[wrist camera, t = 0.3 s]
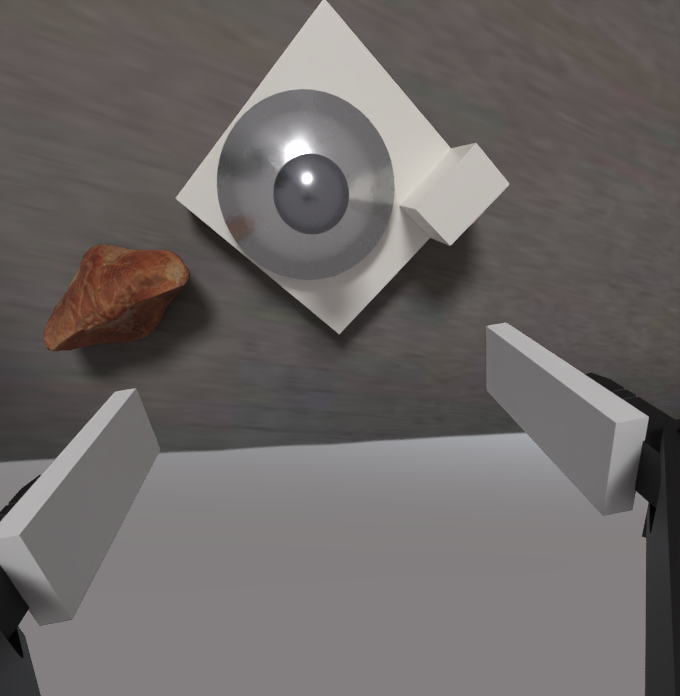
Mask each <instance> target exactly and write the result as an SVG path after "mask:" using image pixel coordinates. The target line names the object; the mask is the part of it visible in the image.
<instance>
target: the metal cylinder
mask: <svg viewBox="0 0 680 696" xmlns="http://www.w3.org/2000/svg"><path fill="white" fill-rule="evenodd" d="M273 198H274V203H275V207H276V209H277V212H278V214H279V215H280V217H281V218H282V220H283V221H284V222H285V223H286V224H287V225H288V226H289V227H291V228H292V229H294V230H296V231H298V232H300V233H304V234H320V233H324V232H326V231H328V230H330V229H332V228H333V227H334V226H336V225H337V224H338V223H339V222H340V220H341V219H342V218H343V216H344V214H345V212H346V210H347V206H348V202H349V188H348V183H347V180H346V178H345V176H344V174H343V172H342V171H341V169H340V168H339V167H338V166H337V164H335V163H334V162H333V161H332V160H330V159H329V158H327V157H325V156H322V155H319V154H311V153H308V154H302V155H298V156H296V157H294V158H292V159H290V160H289V161H288V162H287V163H285V165H284V166H283V167H282V168H281V169H280V171H279V173H278V175H277V177H276V179H275V183H274V189H273Z"/></svg>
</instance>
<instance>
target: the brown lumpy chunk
mask: <svg viewBox="0 0 680 696" xmlns="http://www.w3.org/2000/svg"><path fill="white" fill-rule="evenodd" d="M189 276H190V273H189V269H188V268H187V267H186V266H185V264H184V262H183V261H182V259H181V258H180V257H179V256H178V255H177V254H175V253H174V252H172V251H169V250H130V249H128V248H122V247H119V246H112V245H104V244H103V245H98V246H95V247H92V248H91V249H90V250H89V251H87V252H86V253H85V255H84V256H83V259H82V261H81V267H80V268H79V270H78V272H77V273H76V275H75V276H74V278H73V280H72V281H71V283H70V286H69V288H68V290H67V292H66V293H65V294H64V296H63V297H62V298H61V299H60V301H59V302H58V304H57V305H56V307H55V308H54V310H53V313H52V315H51V317H50V318H49V320H48V322H47V326H46V328H45V330H44V343H45V345H46V348H47V349H48V350H51V351H61V350H72V349H75V348H79V347H82V346H94V345H98V344H101V343H121V342H131V341H134V340H137V339H141V338H144V337H146V336H148V335H149V334H150V333H151V332H152V331H153V330H154V329H155V328H156V326H157V325H158V323H159V322H160V321H161V319H162V317H163V315H164V311H165V309H166V307H167V306H168V305H169V304H170V303H171V302H172V301H173V300H174V298H175V297H176V296H177V295H178V293H179V292H180V291H181V289H182V287H183V286H185V285H186V283H187V281H188V279H189Z"/></svg>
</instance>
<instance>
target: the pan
mask: <svg viewBox="0 0 680 696" xmlns="http://www.w3.org/2000/svg"><path fill="white" fill-rule="evenodd" d="M308 153H311V154H319V155H322V156H325V157H327V158H329V159H330V160H332V161H333V162H334V163H335V164H337V166H338V167H339V168H340V169H341V171H342V172H343V174H344V176H345V178H346V180H347V183H348V188H349V202H348V206H347V210H346V212H345V214H344V216H343V218H342V219H341V220H340V222H339V223H338V224H337V225H336V226H334V227H333V228H332V229H330V230H328V231H326V232H324V233H320V234H304V233H300V232H298V231H296V230H294V229H292V228H291V227H289V226H288V225H287V224H286V223H285V222H284V221H283V220H282V218H281V217H280V215H279V214H278V212H277V209H276V207H275V203H274V198H273V189H274V183H275V179H276V177H277V175H278V173H279V171H280V169H281V168H282V167H283V166H284V165H285V163H287V162H288V161H289V160H290V159H292V158H294V157H296V156H298V155H302V154H308ZM394 192H395V184H394V173H393V167H392V162H391V159H390V156H389V152H388V150H387V148H386V145H385V143H384V141H383V139H382V137H381V136H380V134H379V132H378V131H377V129H376V128H375V126H374V125H373V124H372V123H371V121H370V120H369V119H368V118H367V117H366V116H365V115H364V114H363V113H362V112H361V111H360V110H358V109H357V108H356V107H354V106H353V105H352V104H350V103H349V102H347V101H345V100H343V99H341V98H340V97H338V96H335V95H332V94H329V93H327V92H322V91H317V90H310V89H297V90H288V91H284V92H280V93H276V94H274V95H272V96H269V97H267V98H265V99H263V100H261V101H260V102H258V103H257V104H255V105H254V106H252V107H251V108H250V109H249V110H248V111H247V112H245V113H244V114H243V115H242V117H241V118H240V119H239V120H238V121H237V122H236V124H235V125H234V127H233V128H232V130H231V131H230V133H229V135H228V137H227V139H226V141H225V143H224V145H223V148H222V152H221V155H220V158H219V164H218V170H217V193H218V200H219V205H220V209H221V212H222V215H223V218H224V221H225V223H226V225H227V227H228V229H229V231H230V233H231V235H232V236H233V238H234V239H235V241H236V242H237V244H238V245H239V246H240V247H241V248H242V250H243V251H244V252H245V253H246V254H247V255H248V256H249V257H251V258H252V259H253V260H254V261H255V262H257V263H258V264H259V265H261V266H262V267H264V268H266V269H268V270H270V271H271V272H274V273H276V274H279V275H281V276H285V277H288V278H292V279H300V280H317V279H324V278H328V277H332V276H335V275H338V274H340V273H343V272H345V271H347V270H348V269H350V268H352V267H354V266H355V265H356V264H358V263H359V262H360V261H362V260H363V259H364V258H365V257H366V256H367V255H368V254H369V253H370V252H371V251H372V250H373V248H374V247H375V246H376V245H377V243H378V242H379V240H380V238H381V237H382V235H383V233H384V231H385V229H386V227H387V225H388V222H389V219H390V216H391V213H392V208H393V203H394Z"/></svg>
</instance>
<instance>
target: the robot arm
mask: <svg viewBox="0 0 680 696" xmlns="http://www.w3.org/2000/svg"><path fill="white" fill-rule="evenodd" d="M486 366H487V391H488V392H489V393H490V394H491V395H492V396H493V397H494V399H495V400H496V401H497V402H498V403H499V404H500V405H501V406H502V407H503V408H504V409H505V410H506V411H507V413H508V414H509V415H510V416H511V417H512V418H513V419H514V420H515V421H516V422H517V423H518V424H519V426H520V427H521V428H522V429H523V430H524V431H525V432H526V433H527V434H528V435H529V436H530V437H531V439H532V440H533V441H534V442H535V443H536V444H537V445H538V446H539V447H540V448H541V449H542V450H543V452H544V453H545V454H546V455H547V456H548V457H549V458H550V459H551V460H552V461H553V462H554V463H555V464H556V466H557V467H558V468H559V469H560V470H561V471H562V472H563V473H564V474H565V475H566V476H567V477H568V479H569V480H570V481H571V482H572V483H573V484H574V485H575V486H576V487H577V488H578V489H579V491H580V492H581V493H582V494H583V495H584V496H585V497H586V498H587V499H588V500H589V501H590V502H591V504H593V506H594V507H595V508H596V509H597V510H598V511H599V512H600V513H601V514H602V515H603V516H604V515H610V514H615V513H619V512H625V511H630V510H632V509H633V503H634V498H635V493H636V491H637V492H638V493H639V494H640V495H642V496H643V497H644V498H645V499H646V500H647V501H648V502H649V504H648V509H647V514H646V519H645V524H644V530H643V534H642V536H643V537H646V541H647V542H646V659H645V660H646V663H645V666H646V667H645V670H646V671H645V696H680V419H679V420H675V419H673V418H672V417H670V416H669V415H667V414H665V413H664V412H662V411H661V410H659V409H657V408H656V407H654V406H653V405H651V404H649V403H648V402H646V401H644V400H643V399H641V398H640V397H636V395H635V394H633V393H632V392H630V391H628V390H624V387H622V386H620V385H619V384H617V383H615V382H614V381H612V380H611V379H608V378H605V377H602V376H599V375H596V374H593V373H588V374H583V373H582V372H580V371H579V370H577V369H576V368H574V367H573V366H571V365H570V364H568V363H567V362H565V361H563V360H562V359H560V358H559V357H557V356H556V355H554V354H553V353H551V352H550V351H548V350H547V349H545V348H544V347H542V346H541V345H539V344H538V343H536V342H535V341H533V340H532V339H530V338H529V337H527V336H526V335H524V334H523V333H521V332H519V331H518V330H516V329H515V328H513V327H512V326H510V325H509V324H507V323H501V324H495V325H490V326H486ZM159 451H160V447H159V445H158V442H157V440H156V437H155V435H154V432H153V430H152V427H151V425H150V422H149V420H148V417H147V414H146V412H145V409H144V407H143V404H142V402H141V399H140V397H139V394H138V392H137V389H136V388H134V389H128V390H123V391H117V392H114V394H113V395H112V396H111V397H110V398H109V399H108V400H107V401H106V403H105V404H104V405H103V406H102V407H101V408H100V409H99V411H98V412H97V413H96V414H95V415H94V416H93V417H92V418H91V420H90V421H89V422H88V423H87V424H86V425H85V426H84V428H83V429H82V430H81V431H80V432H79V433H78V434H77V435H76V437H75V438H74V439H73V440H72V441H71V442H70V443H69V445H68V446H67V447H66V448H65V449H64V450H63V451H62V452H61V454H60V455H59V456H58V457H57V458H56V459H55V460H54V462H53V463H52V464H51V465H50V466H49V467H48V468H47V469H46V471H45V472H44V473H43V474H42V475H39V476H38V477H36V478H35V479H34V480H32V481H31V482H30V483H28V484H27V485H26V486H24V487H23V488H22V489H21V490H20V491H19V492H18V493H17V494H16V495H15V496H14V498H13V499H12V500H11V501H10V502H9V505H7V506H5V507H4V508H3V509H2V511H1V512H0V696H41V695H40V692H39V688H38V684H37V680H36V677H35V673H34V669H33V665H32V661H31V657H30V654H29V650H28V646H27V642H26V638H25V636H24V634H23V632H22V631H21V630H20V629H19V627H18V625H19V623H20V622H21V620H22V619H23V617H24V616H25V614H26V612H27V611H28V609H29V611H30V612H31V614H32V615H33V617H34V618H35V620H36V621H37V623H38V624H39V625H40V626H41V625H47V624H52V623H57V622H62V621H68V620H72V619H73V617H74V615H75V613H76V611H77V609H78V607H79V605H80V604H81V602H82V600H83V598H84V596H85V594H86V592H87V590H88V588H89V586H90V584H91V582H92V580H93V579H94V577H95V575H96V573H97V571H98V569H99V567H100V565H101V563H102V561H103V559H104V557H105V555H106V553H107V551H108V549H109V548H110V546H111V544H112V542H113V540H114V538H115V536H116V534H117V532H118V530H119V528H120V527H121V524H122V523H123V521H124V519H125V517H126V515H127V513H128V511H129V509H130V507H131V505H132V503H133V501H134V500H135V497H136V495H137V494H138V492H139V489H140V488H141V486H142V484H143V482H144V480H145V478H146V476H147V474H148V473H149V471H150V469H151V466H152V465H153V463H154V461H155V459H156V457H157V455H158V453H159Z"/></svg>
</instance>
